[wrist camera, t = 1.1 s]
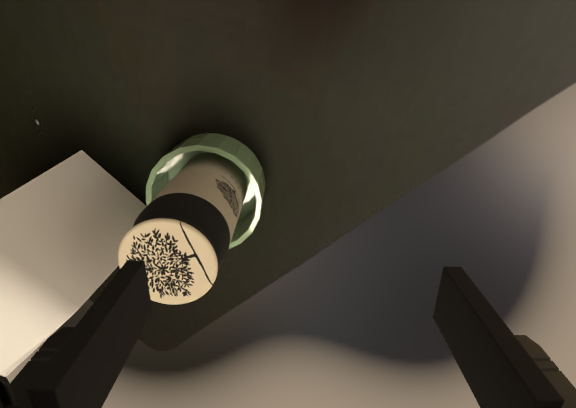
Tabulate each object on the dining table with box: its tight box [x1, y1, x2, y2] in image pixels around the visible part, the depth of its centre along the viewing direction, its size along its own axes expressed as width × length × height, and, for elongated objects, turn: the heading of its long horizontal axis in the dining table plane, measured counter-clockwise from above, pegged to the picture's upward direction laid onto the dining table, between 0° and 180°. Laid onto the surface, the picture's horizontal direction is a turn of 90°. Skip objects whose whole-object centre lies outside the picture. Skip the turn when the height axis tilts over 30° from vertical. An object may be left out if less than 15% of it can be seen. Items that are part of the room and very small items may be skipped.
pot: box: [146, 133, 266, 249], centre depth 42 cm, size 12×12×6 cm
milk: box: [0, 150, 147, 377], centre depth 34 cm, size 12×12×26 cm
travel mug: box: [118, 153, 247, 304], centre depth 36 cm, size 8×8×18 cm
